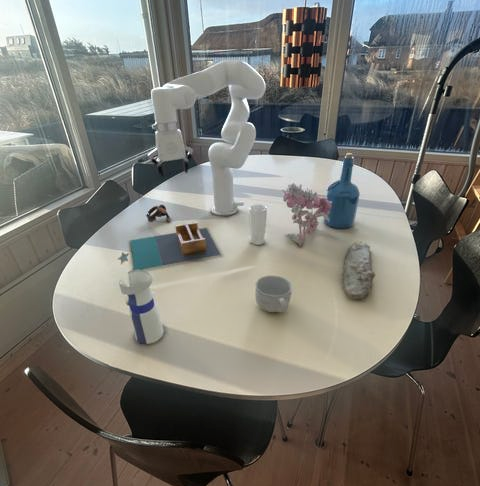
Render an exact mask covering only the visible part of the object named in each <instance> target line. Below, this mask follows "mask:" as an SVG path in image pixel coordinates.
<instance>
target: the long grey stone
mask: <svg viewBox="0 0 480 486" xmlns="http://www.w3.org/2000/svg"><path fill="white" fill-rule="evenodd" d="M370 248H371V246H370V245H368V244H367V243H366V242H363V241H357V242H356V241H355V242H353V243H352V244H351V245H350V246H349V248H348V250H347V253H346V255H345V256H344V257H345V262H344V266H343V268H342V269H343V270H342V274H341V275H342V281H343V283H342V285H343V290H344V293H345V295H346V296H347V297H348V298H350V299H351V300H352V299H353V300H362V299H364V298H365V297H366V296H369V295H370V292H371V290H372V289H373V281H374V278H375V277H376V273H375V272H374V271H372V268H371V267H372V260H373V259H372V251H371V249H370Z"/></svg>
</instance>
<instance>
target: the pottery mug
mask: <svg viewBox="0 0 480 486" xmlns="http://www.w3.org/2000/svg"><path fill="white" fill-rule="evenodd" d="M153 212H154V213H153ZM152 213H153V214H152ZM165 216H166V219H165V220H166V221H167V223H170V222H171V217H170V216H169V214H168V211H167V207H166V206H165V205H164V204H159V205H155V206H152V207H151V208H150V209H149V210H148V211H147V214H146V215H145V217H146V218H147V221H148V222H150V223H151V222H157V218H161V217H165Z"/></svg>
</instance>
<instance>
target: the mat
mask: <svg viewBox="0 0 480 486" xmlns="http://www.w3.org/2000/svg"><path fill="white" fill-rule="evenodd" d="M198 229H199V231H200V233H201V235H202V237H203V238H205V240H206V250H207V252H202V253H197V254H191V255H186V256H184V255H183V253H182V250H181V247H180V244H179V241H178V239H177V234H176V232H174V233H168V234H162V235H161V234H160V235H155V236H149V237H144V238H143V237H142V238H138V239H132V240H130V243H131V254H132V263H133V270H148V269H153V268H159V267H163V266H168V265H169V266H170V265H174V264H179V263H184V262H188V261H189V262H190V261H196V260H199V259H205V258H206V259H207V258H211V257H215V256H221V253H220V251H219V249H218V247H217V245H216V244H215V242H214V240H213V238H212V236H211V234H210V233H209V231H208V229H207V227H204V228H198Z"/></svg>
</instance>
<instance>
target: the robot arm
mask: <svg viewBox="0 0 480 486" xmlns="http://www.w3.org/2000/svg"><path fill="white" fill-rule="evenodd" d="M227 87H228V90H229V96H230V99H231V106H230V110H229V113H228V115H227V118H226V120H225V121H224V124H223V126H222V128H221V132H220V136H221V139H222V140H223V141H224V142H222V141H221V142H220V141H219V142H214V143H212V144H211V145H210V147H209V149H208V152H207V154H208V161H209V165H210V169H211V177H212V191H213V206H212V207H211V208H210V209H211V212H212V214H213V215H215V216H224V217H227V216H232V215H234V214H236V213H237V212H238V207H241V206H244V204H245V203H244V201H240V200H235V197H234V196H235V195H234V174H233V173H234V172H233V169H234V170H239V169H241V168H242V167H244V165H245V163H246V161H247V159H248V157H249V155H250V153H251V150H252V149H253V146H254V144H255V141H256V138H257V130H256V127H255V125H254V124H253V123H252V122H249V121H248V120H249V118H250V106H249V104H248V100H258V99H261V98H263V96H264V95H265V93H266V82H265V79H264V78H263V77H262V75H260V73H258V72H257V70H256V69H254V68H253V67H252V66H251V65H250V64H249V63H247V62H246V61H243V60H241V59H240V60H239V59H233V60H230V59H227V60H221V61H220V62H217V63H215V64H213V65H211V66H209V67H207V68H205V69H203V70H200V71H197V72H193V73H191V74H188V75H185V76H180V77H178V78H175V79H173V80H171V81H169V82H167V83H165V84H164V85H162V87H154V88H152V89H151V91H150V96H151V103H152V108H153V109H152V110H153V114H154V120H155V121H154V122H155V123H154V124H152V125H151V128H152V130H155V135H154V136H155V148H154V149H153V150H152V151H151V152H149V153H148V154H147V157H148V158H149V159H150V161H151V163H153V164H154V165H156V167H157V173H158V175H159V176H160V177H164V170H163V166H162V163H163V162H168V161H176V160H182V167H183V172H184V173H186V174H187V173H189V172H188V171H189V161H190V159H191V158H192V156H193V153H194V149H193V148H192V147H190V146H187V145H185V143H184V138H183V134H182V131H181V130H180V129H179V127H178V120H177V113H176V110H188V109H191V108H192V107H194V105H195V103H196V99H197V98H199V97H200V98H201V97H208V96H211V95H214V94H215V93H217V92H219V91H221V90H223V89H225V88H227ZM247 99H248V100H247ZM186 151H188V153H187V154H186ZM155 155H156V156H157V159H155V158H154V156H155Z"/></svg>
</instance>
